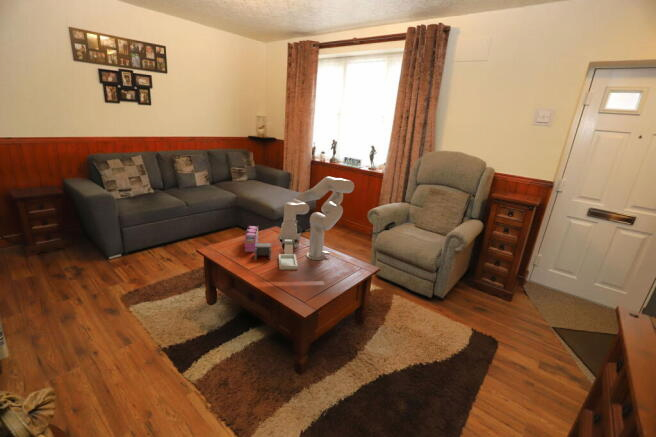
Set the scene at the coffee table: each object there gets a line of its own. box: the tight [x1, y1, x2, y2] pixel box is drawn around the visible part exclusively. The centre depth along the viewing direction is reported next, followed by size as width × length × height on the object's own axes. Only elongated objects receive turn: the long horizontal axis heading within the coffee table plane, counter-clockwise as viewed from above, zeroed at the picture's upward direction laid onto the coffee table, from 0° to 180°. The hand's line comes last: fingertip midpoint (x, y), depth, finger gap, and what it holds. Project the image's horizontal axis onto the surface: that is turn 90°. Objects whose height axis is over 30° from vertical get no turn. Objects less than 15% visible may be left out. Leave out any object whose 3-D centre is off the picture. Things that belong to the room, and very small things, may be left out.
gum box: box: [244, 225, 259, 253], centre depth 226 cm, size 22×7×13 cm, turn 7°
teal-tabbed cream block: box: [283, 240, 294, 254], centre depth 202 cm, size 5×13×6 cm, turn 11°
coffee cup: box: [292, 225, 303, 248], centre depth 231 cm, size 11×11×15 cm
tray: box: [278, 253, 299, 271], centre depth 205 cm, size 11×18×2 cm, turn 11°
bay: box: [254, 242, 272, 261], centre depth 210 cm, size 10×9×8 cm
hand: (287, 248), depth 202 cm, fingers closed on teal-tabbed cream block, 5 cm apart
